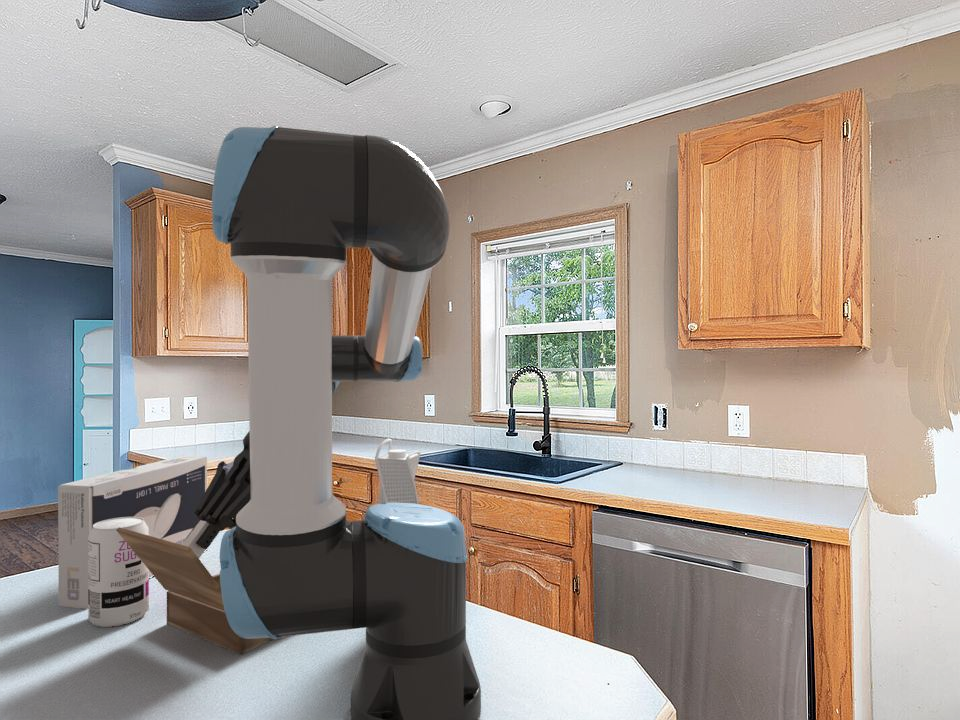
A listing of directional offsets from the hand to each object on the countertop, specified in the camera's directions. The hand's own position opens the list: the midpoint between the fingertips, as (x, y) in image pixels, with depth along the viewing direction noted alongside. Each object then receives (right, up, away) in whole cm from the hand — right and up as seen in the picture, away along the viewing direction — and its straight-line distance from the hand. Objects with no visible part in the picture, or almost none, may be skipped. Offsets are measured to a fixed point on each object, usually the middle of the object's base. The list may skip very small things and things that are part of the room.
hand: (180, 565), depth 86 cm
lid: (+2, -6, +3) cm, 7 cm away
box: (+6, -11, +9) cm, 15 cm away
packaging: (-21, -12, +29) cm, 38 cm away
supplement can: (-14, -12, +10) cm, 21 cm away
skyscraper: (+29, -12, +9) cm, 33 cm away
